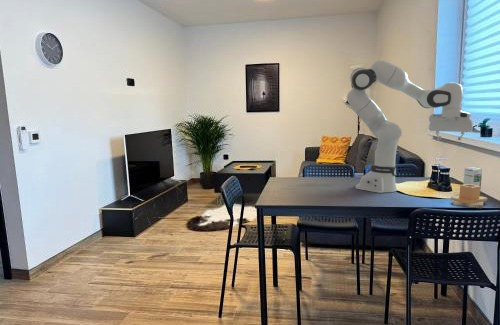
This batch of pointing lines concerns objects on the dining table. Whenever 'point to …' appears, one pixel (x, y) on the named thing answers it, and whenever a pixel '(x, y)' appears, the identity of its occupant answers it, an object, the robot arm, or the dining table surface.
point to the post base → (477, 205)
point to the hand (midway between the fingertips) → (449, 140)
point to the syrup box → (473, 176)
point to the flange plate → (469, 194)
